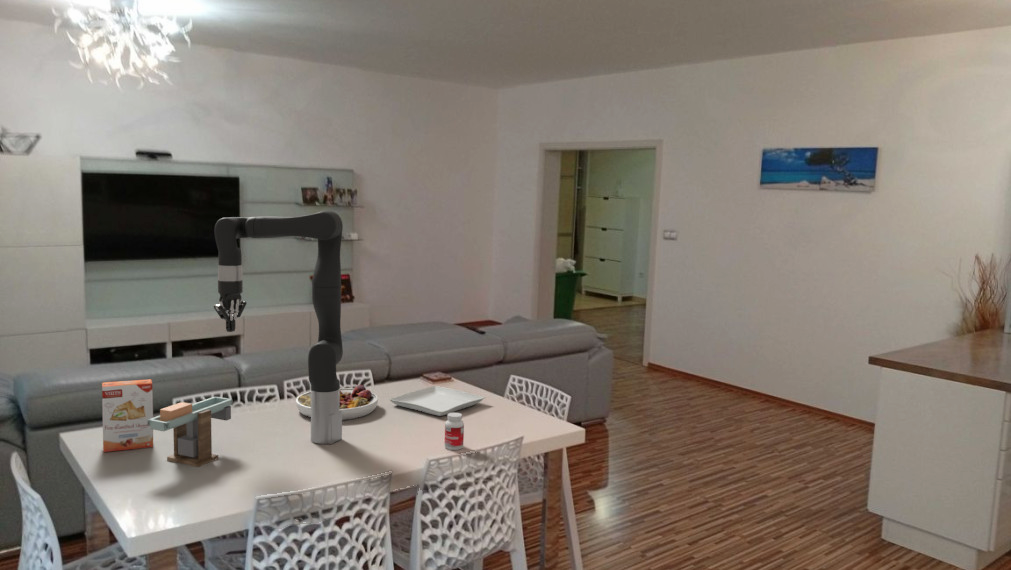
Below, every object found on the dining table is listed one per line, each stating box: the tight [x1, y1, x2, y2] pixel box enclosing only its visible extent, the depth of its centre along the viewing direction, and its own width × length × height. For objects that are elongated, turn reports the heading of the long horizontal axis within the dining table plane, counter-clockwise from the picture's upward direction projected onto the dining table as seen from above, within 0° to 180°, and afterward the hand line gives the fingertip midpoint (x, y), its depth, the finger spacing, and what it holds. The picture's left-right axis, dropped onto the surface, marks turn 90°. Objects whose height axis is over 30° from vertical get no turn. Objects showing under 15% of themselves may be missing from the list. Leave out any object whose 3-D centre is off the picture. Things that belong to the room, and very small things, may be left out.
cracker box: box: [101, 378, 154, 453], centre depth 229 cm, size 14×6×21 cm, turn 117°
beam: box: [148, 396, 234, 458], centre depth 221 cm, size 7×26×14 cm, turn 158°
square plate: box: [389, 385, 486, 417], centre depth 288 cm, size 27×27×4 cm
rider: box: [159, 401, 193, 422], centre depth 214 cm, size 4×8×4 cm, turn 158°
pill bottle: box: [444, 412, 465, 451], centre depth 240 cm, size 6×6×11 cm
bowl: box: [295, 384, 379, 421], centre depth 277 cm, size 30×30×8 cm
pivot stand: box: [166, 410, 219, 468], centre depth 221 cm, size 12×8×16 cm, turn 68°
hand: (230, 331), depth 241 cm, fingers closed
